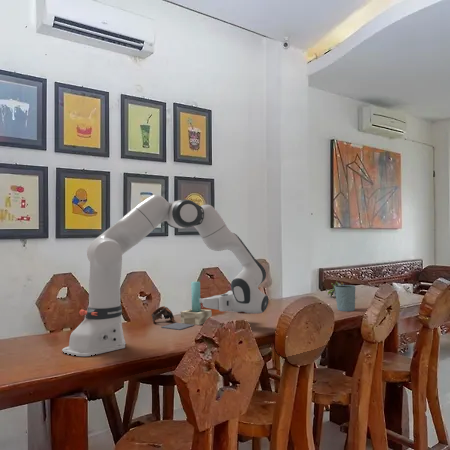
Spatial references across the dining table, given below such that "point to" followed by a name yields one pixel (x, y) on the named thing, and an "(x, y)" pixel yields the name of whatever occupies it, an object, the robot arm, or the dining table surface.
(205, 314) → the socket block
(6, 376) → the dining table surface
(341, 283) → the passion flower
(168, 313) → the brown hollow arch
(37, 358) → the dining table surface
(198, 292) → the peg
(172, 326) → the mat
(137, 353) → the dining table surface
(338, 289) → the blue-grey planter
